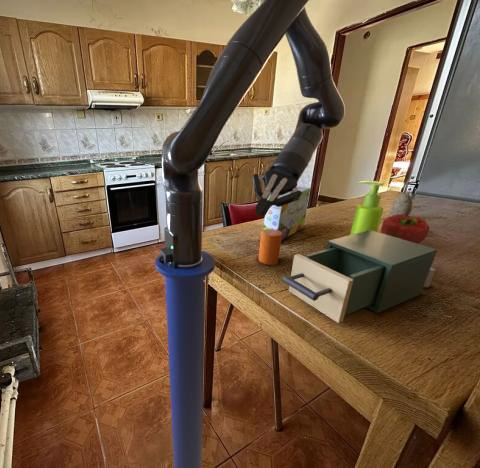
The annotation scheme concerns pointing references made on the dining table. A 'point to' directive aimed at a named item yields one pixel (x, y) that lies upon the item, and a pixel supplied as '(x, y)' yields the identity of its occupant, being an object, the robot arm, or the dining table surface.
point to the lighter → (429, 277)
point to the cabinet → (391, 264)
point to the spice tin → (270, 246)
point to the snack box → (288, 214)
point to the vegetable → (405, 228)
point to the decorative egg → (402, 205)
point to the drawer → (335, 281)
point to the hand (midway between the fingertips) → (258, 214)
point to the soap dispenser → (368, 210)
